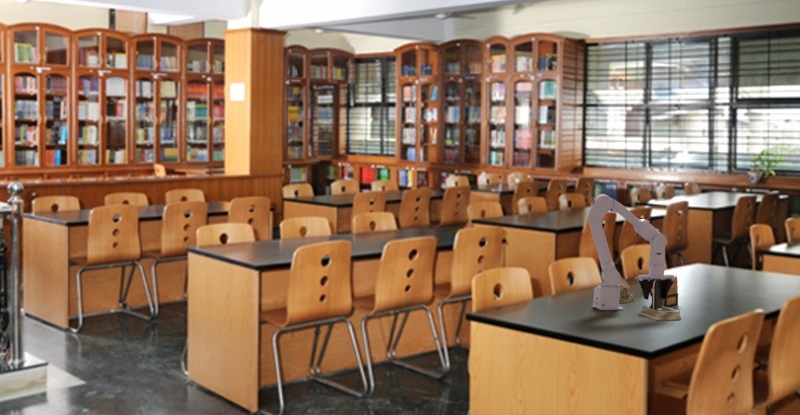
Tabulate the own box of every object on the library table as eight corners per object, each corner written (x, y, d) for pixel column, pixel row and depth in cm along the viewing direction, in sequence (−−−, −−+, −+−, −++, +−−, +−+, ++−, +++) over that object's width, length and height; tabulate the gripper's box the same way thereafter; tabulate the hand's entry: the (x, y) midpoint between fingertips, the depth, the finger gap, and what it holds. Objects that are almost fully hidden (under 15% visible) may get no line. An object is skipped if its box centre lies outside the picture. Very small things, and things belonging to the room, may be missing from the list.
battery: (653, 306, 357) (654, 277, 356) (663, 307, 354) (663, 278, 353) (646, 309, 351) (646, 279, 350) (655, 310, 349) (656, 280, 348)
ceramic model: (618, 304, 365) (619, 279, 364) (595, 300, 373) (596, 275, 372) (638, 300, 374) (639, 276, 373) (614, 296, 382) (615, 273, 382)
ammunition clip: (664, 308, 357) (666, 278, 356) (660, 308, 358) (661, 277, 357) (677, 305, 364) (679, 275, 363) (673, 304, 366) (675, 275, 365)
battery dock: (656, 320, 333) (656, 311, 333) (639, 313, 344) (639, 305, 344) (680, 319, 335) (681, 311, 335) (663, 313, 347) (663, 305, 347)
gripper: (645, 265, 346) (643, 301, 347) (679, 265, 349) (677, 300, 350) (635, 262, 352) (634, 297, 353) (669, 262, 356) (667, 297, 357)
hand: (655, 298), depth 352 cm, fingers closed on battery, 7 cm apart
